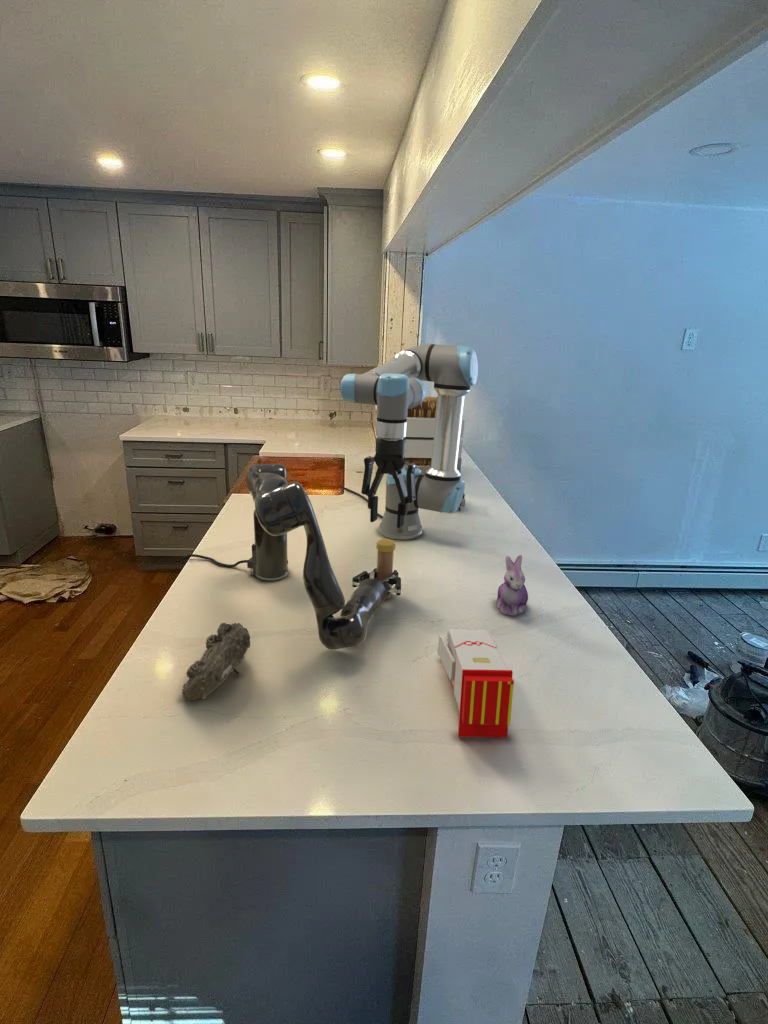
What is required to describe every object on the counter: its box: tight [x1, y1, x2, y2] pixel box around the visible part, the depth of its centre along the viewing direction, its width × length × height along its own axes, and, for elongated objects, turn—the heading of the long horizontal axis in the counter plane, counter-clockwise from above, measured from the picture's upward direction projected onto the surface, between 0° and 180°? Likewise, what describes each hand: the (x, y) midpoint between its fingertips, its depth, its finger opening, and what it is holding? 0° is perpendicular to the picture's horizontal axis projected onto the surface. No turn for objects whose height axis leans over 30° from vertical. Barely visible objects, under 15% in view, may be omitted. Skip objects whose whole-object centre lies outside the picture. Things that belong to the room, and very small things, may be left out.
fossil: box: [181, 622, 251, 702], centre depth 119 cm, size 22×10×15 cm
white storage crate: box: [404, 396, 465, 475], centre depth 268 cm, size 34×33×41 cm
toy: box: [437, 628, 515, 738], centre depth 117 cm, size 12×13×30 cm
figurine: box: [496, 554, 529, 616], centre depth 150 cm, size 9×10×15 cm
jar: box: [376, 550, 395, 600], centre depth 154 cm, size 4×4×16 cm
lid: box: [376, 538, 396, 552], centre depth 152 cm, size 5×5×2 cm
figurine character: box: [457, 493, 466, 511], centre depth 229 cm, size 7×8×15 cm
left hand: (387, 571), depth 157 cm, fingers closed on jar, 4 cm apart
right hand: (386, 523), depth 149 cm, fingers open, 7 cm apart
